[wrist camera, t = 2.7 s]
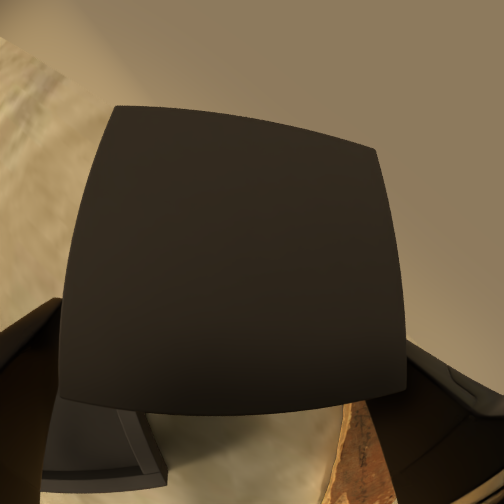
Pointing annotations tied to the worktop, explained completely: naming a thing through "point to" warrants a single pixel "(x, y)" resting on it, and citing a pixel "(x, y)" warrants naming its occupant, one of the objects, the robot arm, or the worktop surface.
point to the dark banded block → (230, 270)
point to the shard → (359, 462)
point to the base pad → (100, 451)
